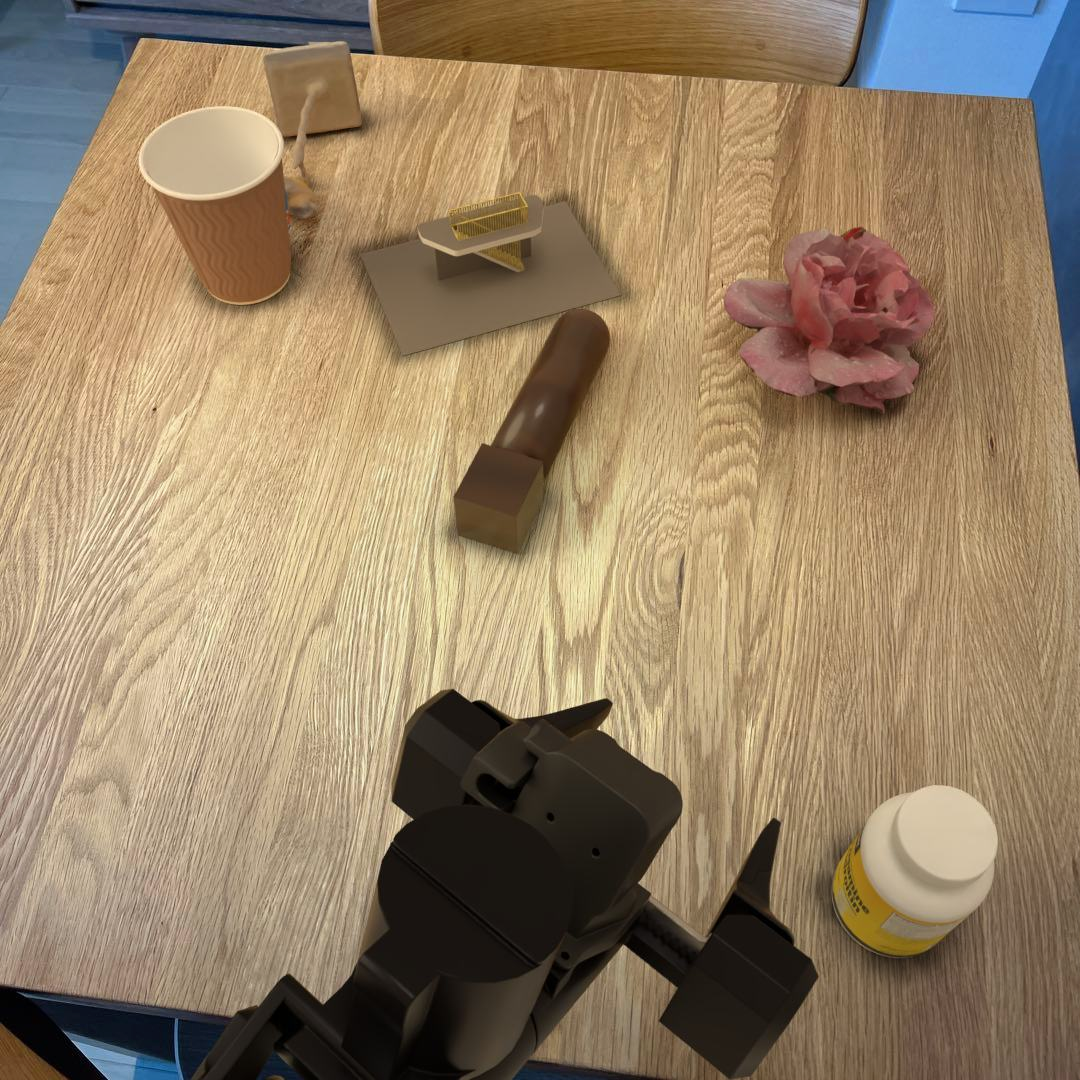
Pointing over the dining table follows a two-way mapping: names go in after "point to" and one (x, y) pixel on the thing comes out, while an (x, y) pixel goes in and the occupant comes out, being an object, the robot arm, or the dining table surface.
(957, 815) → the pill bottle
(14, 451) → the dining table surface
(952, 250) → the dining table surface
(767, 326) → the flower
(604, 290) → the platform
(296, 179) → the decorative sculpture
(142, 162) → the coffee cup
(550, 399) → the walnut leg
